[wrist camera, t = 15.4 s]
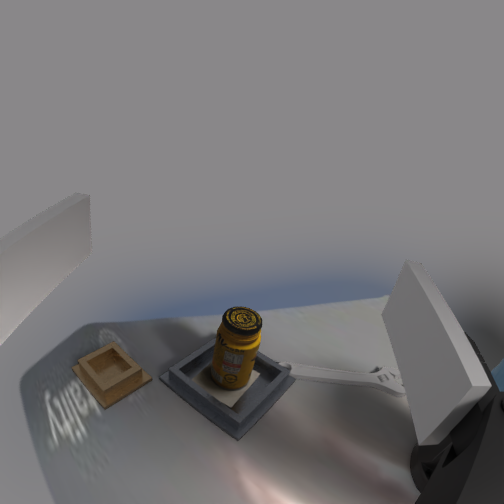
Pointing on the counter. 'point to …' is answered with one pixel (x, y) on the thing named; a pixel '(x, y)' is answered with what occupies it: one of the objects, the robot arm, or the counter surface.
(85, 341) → the counter surface
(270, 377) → the large collar
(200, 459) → the counter surface
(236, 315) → the condiment
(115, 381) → the small brown compartment box
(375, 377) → the adjustable wrench
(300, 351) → the counter surface
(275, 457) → the counter surface
